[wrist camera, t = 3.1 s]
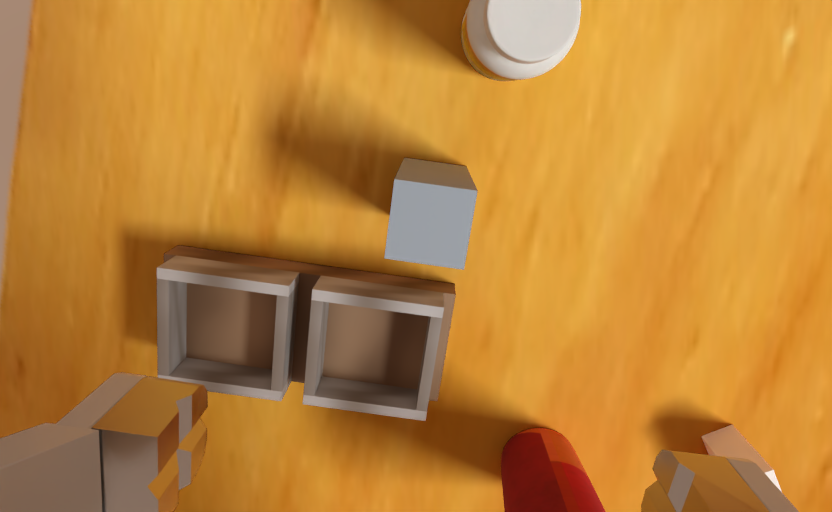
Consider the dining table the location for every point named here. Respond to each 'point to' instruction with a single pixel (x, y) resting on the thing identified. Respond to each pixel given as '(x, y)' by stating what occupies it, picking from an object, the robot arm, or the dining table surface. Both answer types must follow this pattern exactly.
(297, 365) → the two-compartment tray
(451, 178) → the gray rectangular block
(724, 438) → the white notched slab
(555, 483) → the paper cup
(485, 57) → the supplement bottle
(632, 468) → the dining table surface
